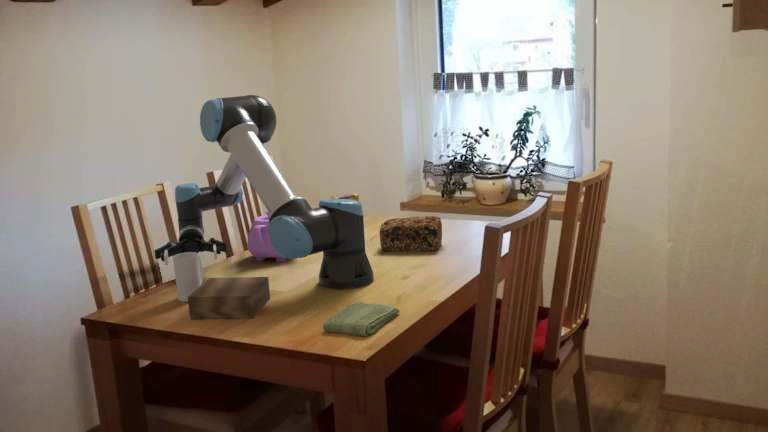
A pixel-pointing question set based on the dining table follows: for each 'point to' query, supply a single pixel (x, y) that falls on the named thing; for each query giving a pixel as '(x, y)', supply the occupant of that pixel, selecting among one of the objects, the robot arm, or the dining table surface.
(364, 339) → the dining table surface
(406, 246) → the bread
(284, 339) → the dining table surface
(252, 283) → the walnut block
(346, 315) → the washcloth
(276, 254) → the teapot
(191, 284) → the mug
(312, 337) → the dining table surface
